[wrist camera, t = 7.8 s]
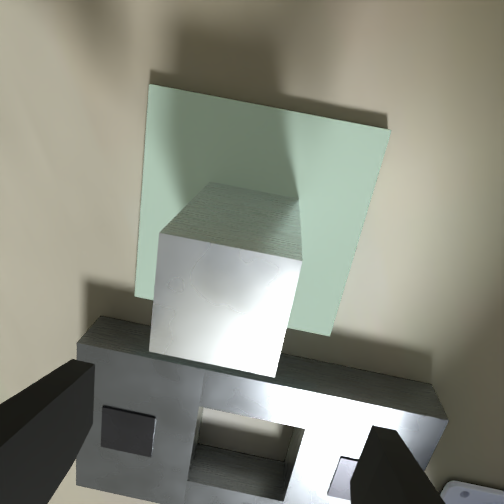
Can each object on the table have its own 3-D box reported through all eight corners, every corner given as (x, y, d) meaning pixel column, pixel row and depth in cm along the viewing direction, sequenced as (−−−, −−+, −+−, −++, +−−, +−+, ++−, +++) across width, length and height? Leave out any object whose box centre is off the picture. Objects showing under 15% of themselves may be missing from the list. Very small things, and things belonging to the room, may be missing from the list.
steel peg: (299, 198, 17) (302, 261, 11) (281, 279, 19) (274, 377, 12) (209, 181, 17) (159, 233, 11) (199, 263, 19) (149, 351, 12)
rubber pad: (388, 129, 16) (391, 130, 16) (328, 329, 20) (329, 336, 20) (153, 84, 17) (149, 84, 16) (138, 290, 20) (134, 296, 20)
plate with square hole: (431, 384, 21) (449, 422, 18) (375, 509, 24) (385, 554, 22) (100, 315, 21) (75, 344, 19) (96, 449, 25) (75, 486, 22)
